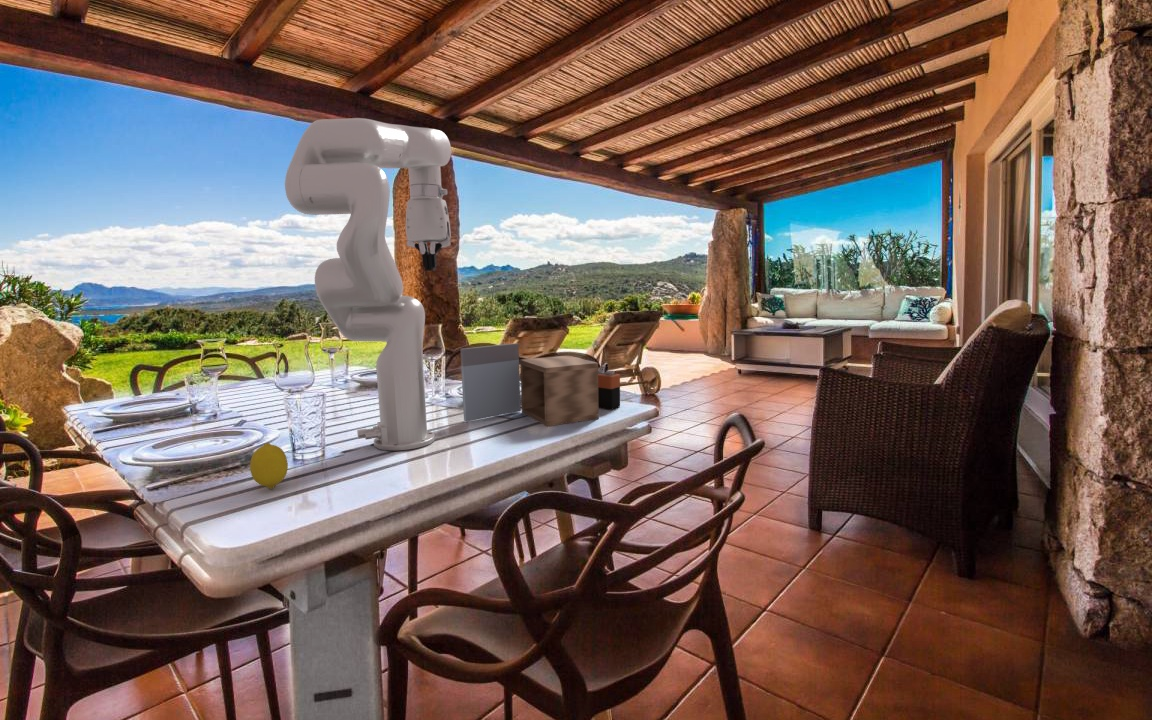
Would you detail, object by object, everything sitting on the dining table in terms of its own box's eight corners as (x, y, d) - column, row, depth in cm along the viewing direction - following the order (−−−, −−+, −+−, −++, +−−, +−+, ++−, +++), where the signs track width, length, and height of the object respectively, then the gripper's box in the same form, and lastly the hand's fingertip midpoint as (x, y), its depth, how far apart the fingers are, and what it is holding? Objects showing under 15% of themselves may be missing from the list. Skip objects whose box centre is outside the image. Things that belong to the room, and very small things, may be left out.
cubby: (547, 426, 130) (545, 368, 128) (521, 412, 144) (520, 359, 142) (598, 418, 136) (597, 362, 134) (569, 406, 150) (568, 355, 148)
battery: (611, 410, 145) (611, 372, 143) (591, 406, 149) (590, 370, 148) (620, 407, 148) (620, 370, 147) (600, 403, 152) (600, 368, 151)
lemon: (250, 497, 90) (245, 450, 89) (255, 485, 95) (250, 441, 94) (288, 491, 92) (284, 445, 91) (291, 480, 97) (286, 436, 96)
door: (463, 420, 135) (460, 348, 133) (518, 410, 145) (515, 343, 142) (466, 421, 134) (462, 349, 132) (520, 410, 144) (518, 343, 141)
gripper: (460, 196, 137) (463, 270, 140) (401, 197, 138) (405, 271, 141) (452, 191, 130) (456, 270, 132) (390, 192, 131) (395, 271, 133)
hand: (430, 270), depth 137 cm, fingers closed
